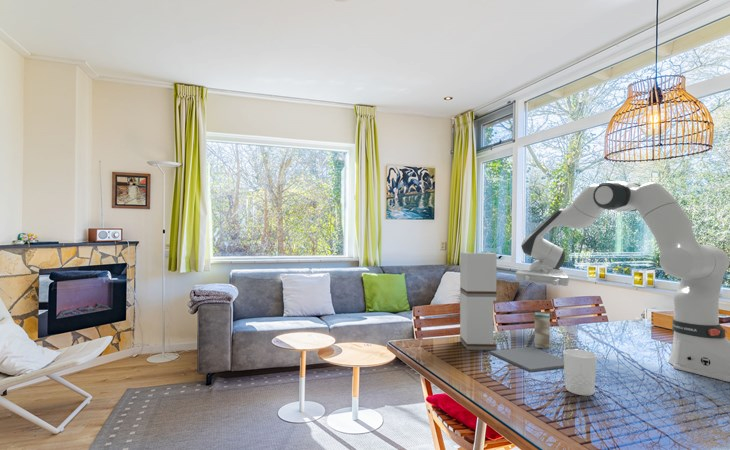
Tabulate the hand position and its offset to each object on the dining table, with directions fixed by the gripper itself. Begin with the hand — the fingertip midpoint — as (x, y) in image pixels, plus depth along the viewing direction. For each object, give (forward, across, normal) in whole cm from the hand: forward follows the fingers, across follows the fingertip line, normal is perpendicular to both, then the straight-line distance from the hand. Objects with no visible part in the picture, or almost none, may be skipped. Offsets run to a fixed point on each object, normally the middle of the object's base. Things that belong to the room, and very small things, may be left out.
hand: (542, 281), depth 159 cm
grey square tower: (+22, -22, +22) cm, 38 cm away
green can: (+13, +1, +22) cm, 25 cm away
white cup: (+57, +8, +16) cm, 59 cm away
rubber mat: (+33, -3, +19) cm, 38 cm away
